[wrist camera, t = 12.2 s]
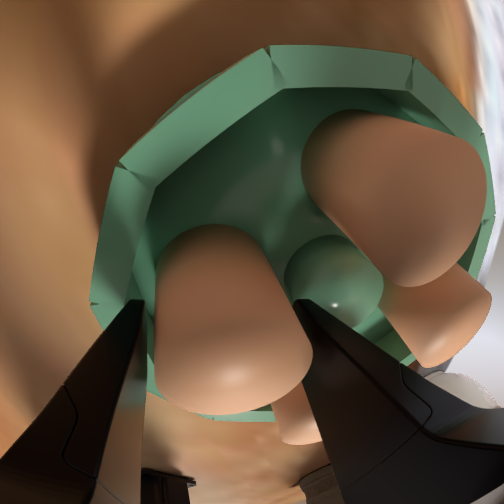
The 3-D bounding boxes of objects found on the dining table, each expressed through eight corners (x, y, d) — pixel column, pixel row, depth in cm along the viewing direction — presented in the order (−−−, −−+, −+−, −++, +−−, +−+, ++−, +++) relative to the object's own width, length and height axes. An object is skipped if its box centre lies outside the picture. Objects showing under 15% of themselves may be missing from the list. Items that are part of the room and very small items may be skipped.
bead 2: (320, 367, 14) (351, 432, 11) (250, 375, 13) (272, 451, 10) (344, 313, 12) (389, 385, 9) (264, 318, 11) (296, 406, 8)
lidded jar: (429, 349, 18) (495, 445, 10) (476, 352, 22) (524, 417, 15) (344, 430, 22) (383, 515, 15) (409, 419, 27) (443, 481, 19)
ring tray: (264, 408, 17) (275, 444, 14) (33, 252, 9) (4, 296, 7) (468, 262, 14) (497, 287, 12) (372, -13, 6) (421, -27, 4)
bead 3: (334, 235, 10) (399, 311, 7) (277, 151, 8) (346, 204, 5) (409, 176, 10) (491, 227, 6) (370, 88, 8) (471, 107, 4)
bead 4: (380, 316, 13) (425, 378, 10) (355, 271, 11) (412, 343, 8) (437, 270, 13) (489, 322, 9) (423, 217, 11) (492, 271, 7)
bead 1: (275, 226, 9) (333, 312, 6) (256, 315, 11) (291, 406, 8) (155, 221, 8) (148, 319, 5) (157, 317, 10) (160, 417, 7)
